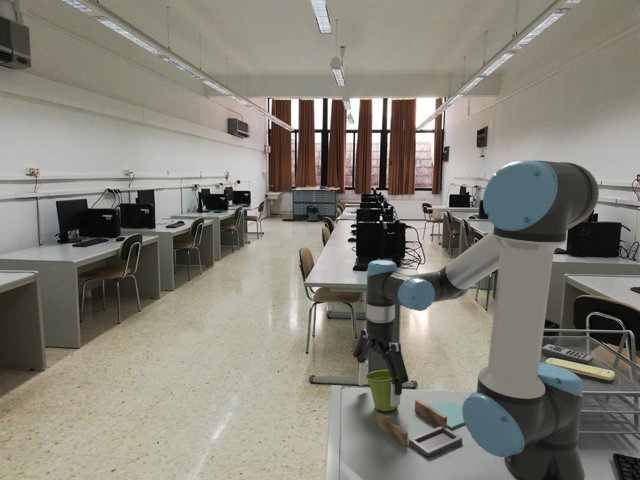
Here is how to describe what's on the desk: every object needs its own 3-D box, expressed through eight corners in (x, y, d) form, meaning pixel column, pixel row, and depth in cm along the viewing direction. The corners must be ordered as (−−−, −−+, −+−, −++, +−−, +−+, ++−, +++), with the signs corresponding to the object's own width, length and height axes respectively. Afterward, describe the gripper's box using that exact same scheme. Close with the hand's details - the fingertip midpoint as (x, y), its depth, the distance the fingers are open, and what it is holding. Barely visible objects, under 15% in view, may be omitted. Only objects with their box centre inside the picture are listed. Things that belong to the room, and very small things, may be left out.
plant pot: (407, 412, 109) (404, 377, 110) (371, 415, 109) (367, 381, 110) (401, 400, 119) (397, 368, 119) (367, 403, 119) (364, 371, 119)
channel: (446, 428, 106) (447, 416, 105) (404, 445, 98) (404, 433, 98) (417, 409, 114) (417, 399, 114) (376, 425, 107) (376, 413, 106)
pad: (478, 418, 110) (478, 416, 110) (451, 429, 105) (451, 427, 105) (447, 401, 119) (447, 399, 119) (421, 411, 113) (421, 409, 113)
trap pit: (462, 442, 100) (462, 437, 100) (428, 458, 94) (428, 453, 94) (442, 430, 105) (442, 425, 105) (408, 443, 99) (409, 439, 99)
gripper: (425, 330, 105) (421, 411, 108) (363, 305, 126) (361, 373, 129) (402, 335, 101) (399, 419, 104) (342, 308, 122) (341, 379, 125)
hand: (378, 394), depth 117 cm, fingers open, 13 cm apart
